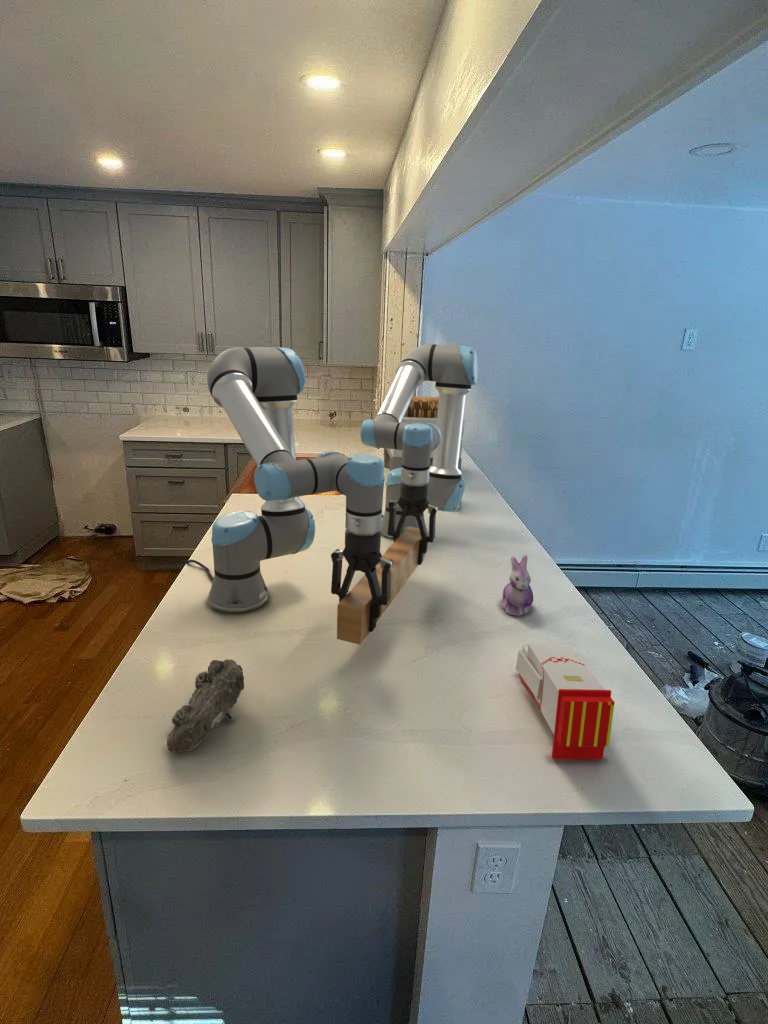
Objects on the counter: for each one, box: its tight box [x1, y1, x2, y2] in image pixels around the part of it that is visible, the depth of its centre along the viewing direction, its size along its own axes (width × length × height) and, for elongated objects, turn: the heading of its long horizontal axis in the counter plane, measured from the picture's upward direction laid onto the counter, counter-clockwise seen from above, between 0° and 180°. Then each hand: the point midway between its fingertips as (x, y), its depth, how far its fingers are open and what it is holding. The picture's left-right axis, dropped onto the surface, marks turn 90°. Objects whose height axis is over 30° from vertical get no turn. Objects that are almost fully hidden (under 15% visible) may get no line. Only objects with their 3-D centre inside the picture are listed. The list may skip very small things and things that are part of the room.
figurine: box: [501, 555, 534, 617], centre depth 150 cm, size 9×10×15 cm
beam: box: [336, 527, 426, 646], centre depth 142 cm, size 50×6×8 cm, turn 160°
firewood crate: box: [383, 395, 465, 472], centre depth 268 cm, size 34×33×41 cm
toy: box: [515, 643, 615, 761], centre depth 113 cm, size 12×13×30 cm
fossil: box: [166, 658, 245, 754], centre depth 106 cm, size 22×10×15 cm
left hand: (359, 625), depth 126 cm, fingers closed on beam, 6 cm apart
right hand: (409, 560), depth 160 cm, fingers closed on beam, 6 cm apart
